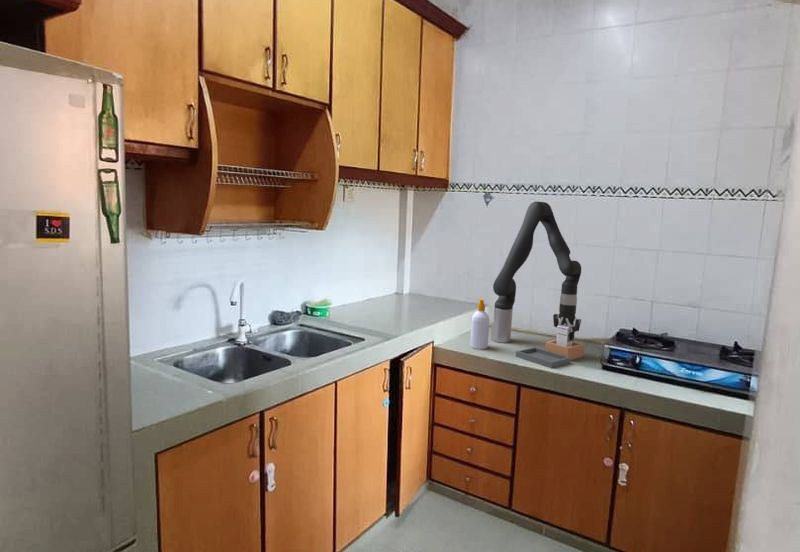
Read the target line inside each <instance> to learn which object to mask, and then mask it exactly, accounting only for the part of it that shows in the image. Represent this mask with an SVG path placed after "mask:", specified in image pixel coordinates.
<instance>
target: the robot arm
mask: <svg viewBox="0 0 800 552" xmlns="http://www.w3.org/2000/svg"><path fill="white" fill-rule="evenodd" d="M539 223H541V225H542V226H543V227H544V229H545V231H546V234H547V240H548V244H549V247H550V248H551V250H552V252H553V254H554V256H555V257H556V261H557V265H558V268H559V271H560V272H561V273H562V274H563V276H565V280H564V281H563V282H562V283H561V290H560V291H561V293H560V296H559V308H558V310H559V313H555V314H553V316H552V317H553V327H554V328H557V326H560V325H564V324H566V325H568V327H569V328H570V335H569V339H570V340H573V339H575V332H579V331H580V328H581V327H580V326H581V324H582V319H581V318H576V312H577V303H578V302H577V301H578V285H579V281H580V278H581V275H582V265H581V263H580V262H579V261H577V260H572V259H571V256H570V255H571V250H570V247H569V245H568V244H567V242H566V241H565V238H564V236H563V235H562V233H561V230H560V228H559V226H558V224H557V220H556V218H555V215H554V212H553V209H552V207H551V205H550V204H549V203H548V202H545V201H533V202H532V203H530V204H529V206H528V207H527V210H526V212H525V215H524V218H523V220H522V224H521V226H520V229H519V230H518V233H517V235H516V237H515V239H514V242H513V243H512V246H511V248H510V250H509V253H508V255H507V257H506V260H505V261H504V263H503V266H502V268H501V270H500V271H499V273H498V275H497V276H496V278H495V280H494V283H493V284H492V288H493V292H494V294H495V295H496V296H498V297H497V300H496V301H495V302H494V309H493V321H492V322H491V332H490V333H491V334H490V340H492V341H493V342H497V343H504V344H505V343H511V338H512V337H511V336H512V324H513V323H512V322H513V308H514V304H515V301H516V294H517V284H516V281H515V279H514V276H515V275H516V273H517V272H518V270H519V269H521V268H522V266H523V265H524V264H525V262H526V261H527V259H528V258H529V256H530V253H531V251H532V249H533V245H534V235H535V231H536V229H537V227H538V225H539Z"/></svg>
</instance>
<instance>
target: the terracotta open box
mask: <svg viewBox="0 0 800 552" xmlns="http://www.w3.org/2000/svg"><path fill="white" fill-rule="evenodd" d="M556 341H557V339H553V340H548V341H546V342H545V349H544V350H547V351H550V352H554V353H557V354H560V355H564V356H567V357H571V361H573V360H575V359H579V358H583V357H584V347H585V344H583V343H580V342H576V341H573V346H571V347H565V346H562V345H558V344H556Z"/></svg>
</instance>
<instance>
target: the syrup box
mask: <svg viewBox="0 0 800 552" xmlns="http://www.w3.org/2000/svg"><path fill="white" fill-rule="evenodd" d="M556 329H557V330H556V340H557V341H556V344H558V345H562V346H565V347H571V346H573V342H575V341H574V339H575V338H574V339H573V340H570V339H569V335H570V328H569V327H568V325H566V324H564V325H560V326H557V327H556Z"/></svg>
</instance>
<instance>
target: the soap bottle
mask: <svg viewBox="0 0 800 552" xmlns="http://www.w3.org/2000/svg"><path fill="white" fill-rule="evenodd" d="M478 302H479V303H478V305H477V310H476V311H475V312H474V313H473V314H472V316H471V326H470V342H469V344H470V345H469V346H470V347H471V348H473V349H477V350H485V349H487V348H488V347H489V331H490V316H489V314H488V313H487V312H486V311H485V310H486V305H485V303H484V302H485V299H483V298H482V297H480V299H478Z"/></svg>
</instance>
